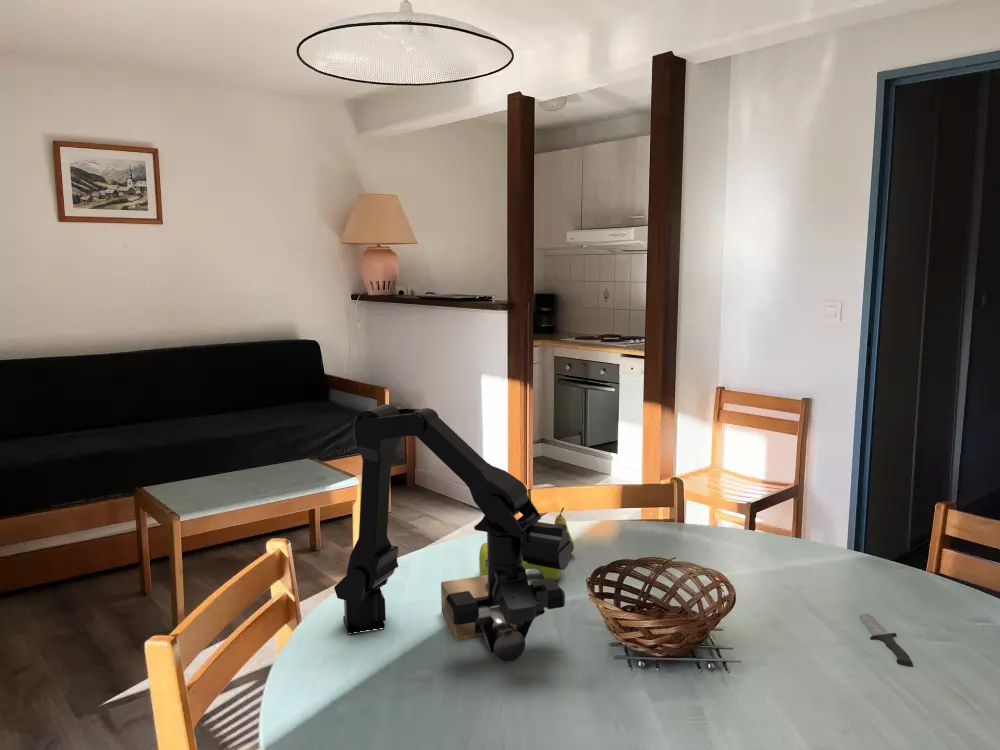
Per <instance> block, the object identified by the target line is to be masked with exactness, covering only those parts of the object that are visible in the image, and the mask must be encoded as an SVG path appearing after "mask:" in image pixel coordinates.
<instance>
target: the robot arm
mask: <svg viewBox="0 0 1000 750" xmlns="http://www.w3.org/2000/svg"><path fill="white" fill-rule="evenodd" d="M353 421H354V422H353V433H354V443H355V447H356V448H357V451H358V452H359V453H358V454H360V456H361V458H362V459H361V460H362V465H361V467H362V468H361V485H360V487H361V488H360V501H359V503H360V506H359V522H358V523H359V525H358V539H357V541H356V542H355V545H354V546H353V548H352V550H351V553H350V555H349V557H348V564H347V567H346V568H347V569H346V575H345V576H344V577H343V578H342V579H341V580H340V581H339V582H338V583H337V584H335V586H334V587H333V588H334V591H335V595H336V598H337V599H339V600H343V606H344V607H343V611H344V615H343V617H342V619H343V623H345V624H344V625H345V626H346V627H345V630H346V629H347V630H346V633H347V634H348V633H354V632H360V631H366V630H373V629H379V630H381V629H380V628H384V627H386V624H385V621H386V617H387V615H386V598H385V596H384V594H383V593H382V589H381V588H382V587H383V586H385V585H387V583H388V581H389V578H391V576H392V575H394V572H395V570H396V569H398V567H399V563H398V555H399V551H400V550H399V546H398V545H392V544H391V542H390V539H389V537H388V524H389V511H390V510H389V509H390V507H389V506H390V492H391V491H390V490H391V475H392V459H393V458H394V457H393V456H394V454H395V453H396V450H397V449H398V446H399V445H400V442H401V440H402V439H401V438H402V437H414V436H415V437H416V438H417V439H418V440H419V441H420V442H421V443H422V444H424V445H425V446H426V448H427V449H429V451H431V453H433V455H435V457H437V458H438V459H439V460H440V461H441V462H442V463H443V464H444V465H445V466H447V467H448V468H449V470H450V471H452V472H453V474H454V475H456V476H457V477H458V478H459V479H460V480H461V481H462V482H463V483H464V484H465V486H467V489H468V490H469V492H470V495H471V497H472V500H473V502H474V503H475V505H476V506H477V508H478V509H479V510H480V511H481V513H482V514H483V515H484V516H483V517H482V519H480V521H479V522H478V523H477V524H476V525H474V526H473V528H474V530H475V531H477V532H478V531H479V532H485V533H486V543H487V560H485V566H486V567H487V582H488V584H486V591H487V592H488V596H485V597H478V598H474V597H473V596H472V595H471V593H470V592H469V591H464V592H458V593H451V594H448V596H447V597H446V599H445V610H446V612H447V613H448V615H449V617H450V618H451V620H452V622H453V623H454V624H457V625H461V624H466V623H472V622H474V623H475V624H476V625H480V627H481V629H482V632H483V635H482V636H483V637H484V640H485V642H486V645H487V647H488V649H489V651H490V654H495V653H494V650H493V644H494V636H493V623H494V620H493V619H492V617H491V616H490V609H491V608H496V607H500V609H501V611H502V613H503V616H504V619H505V621H506V622H507V623H508V624H516V630H518V631H519V632H520V633H521V634H522V635H523V637H524V639H525V640H526V638H527V636H528V632H529V629H530V627H531V626H532V624H533V621H534V620H535V619H536V618H537V617H539V616H541V615H544V614H545V611H546V610H545V609H547V610H553V609H559V608H564V607H565V606H566V594H565V591H564V589H563V588H562V587H561V586H560V585H559V584H558V583H557V582H556V580H552V579H551V578H547V579H545V578H541V579H535V580H532V581H531V582H530V584H529V581H528V578H527V573H526V572H527V569H525V568H524V567H523V561H525V562H527V563H528V564H531V565H537V566H542V567H548V568H553V569H559V570H561V571H564V570H567V567H568V566H569V563H570V560H571V556H572V553H571V550H572V541H570V536H569V534H568V533H567V532H566V525H564V524H555V523H547V522H542V521H540V520H541V519H542V516H541V514H540V513H539V511H538V509H537V508H536V506H535V505H534V503H533V502H532V500H531V499H530V497H529V496H528V491H529V490H528V489H527V487H526V485H525V484H524V483H523V482H522V481H521V480H520V479H518V478H516V477H515V476H514V475H512V474H511V473H509V472H508V471H506V470H504V469H503V468H502V469H501V468H498V467H496V466H493V465H492V464H490V463H489V462H487V461H486V460H485V459H484V458H483V457H482V456H481V455H480V454H479V453H477V452H476V451H475V450H474V449H473V448H472V447H471V446H470V445H469V444H468V443H467V442H466V441H464V439H463V438H461V436H459V435H458V434H457V433H456V432H455V431H454V430H453V429H452V428H451V427H450V426H449V425H448V424H446V423H445V421H443V420H442V419H441V418H440V417H439V414H438V412H437V411H436V410H434V409H432V408H429V407H423V408H413V407H403V408H397V407H396V406H394V405H392V404H389V403H385V404H382V405H379V406H376V407H371V408H370V409H366V410H364V411H361V412H360V413H359V414H357V416H356V417H355V418H354V420H353ZM519 513H520V514H522V515H521V517H519V518H518V519H517V518H516V515H517V514H519ZM384 629H385V628H384ZM373 631H374V630H373Z"/></svg>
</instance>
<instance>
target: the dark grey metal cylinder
mask: <svg viewBox="0 0 1000 750" xmlns="http://www.w3.org/2000/svg"><path fill="white" fill-rule="evenodd" d="M490 616H491V617H492V619H493V620H494V623H493V636H494V644H493V650H494V653H493V654H495V656H496V657H497V659H499V660H500V661H501V662H503V663H511V662H513V661H516V660H517V659H519V658H521V656H522V655H523V653H524V651H525V649H526V638H525V639H524V637H523V635H522V634H521V633H520V632H519V631H518V630H516V629H514V628H513V626H512V625H511V624H508V623H507V622H506V621H505V619H504V616H503V613H502V612H501V610H500V609H499V608H498V607H496V608H491V609H490ZM479 626H480V625H479Z"/></svg>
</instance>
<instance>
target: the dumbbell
mask: <svg viewBox="0 0 1000 750" xmlns="http://www.w3.org/2000/svg"><path fill="white" fill-rule="evenodd" d="M478 554H479V558H478V560H479V563H478V565H479V566H478V569H479V574H480V575H479V576H484V575H487V567H486V566H485V560H487V542H484V543H482V544H481V545H480V548H479V553H478ZM523 567H524V568H525V569H526V570H534V569H535V570H537V571H539V572H540V573H541V576H542V577H543V579H547V578H551V579H552V580H553V581H557V580H559V578H560V575H561V571H562V570H559V569H553V568H548V567H542V566H537V565H531V564H528V563H527V562H525V561H523Z"/></svg>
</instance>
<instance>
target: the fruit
mask: <svg viewBox="0 0 1000 750" xmlns="http://www.w3.org/2000/svg"><path fill="white" fill-rule="evenodd" d="M564 510H565V507H562V508H561V510H560V513H559V514H558V515H557V516H556V517H555V520H554V524H564V525H566V532H567V533H568V534H569V536H570V541H572V550H571V554H572V553H573V552H574V548H575V544H574V540H573V538H572V536H571V534H570V531H569V528H568V524H567V521H566V518H565V516H563V514H562V513H563V511H564Z"/></svg>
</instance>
